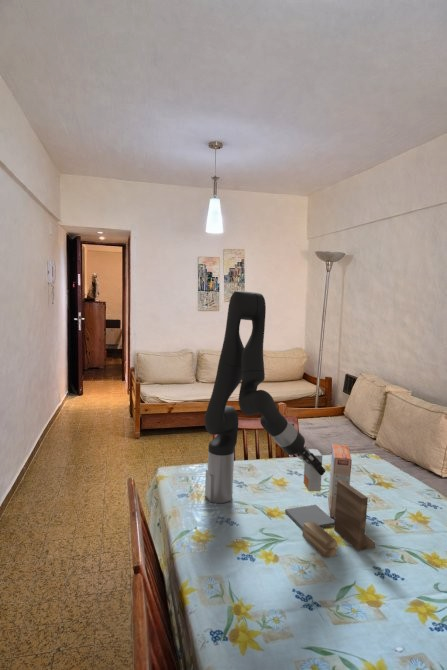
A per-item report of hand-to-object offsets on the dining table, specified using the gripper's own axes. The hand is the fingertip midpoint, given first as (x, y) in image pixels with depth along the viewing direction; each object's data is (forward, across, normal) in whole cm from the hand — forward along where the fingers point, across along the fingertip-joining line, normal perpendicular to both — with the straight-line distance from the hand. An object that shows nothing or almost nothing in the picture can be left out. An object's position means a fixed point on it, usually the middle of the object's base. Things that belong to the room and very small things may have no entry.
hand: (316, 468), depth 141 cm
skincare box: (+3, 0, +6) cm, 7 cm away
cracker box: (+20, +3, +4) cm, 21 cm away
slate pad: (+11, 0, +13) cm, 17 cm away
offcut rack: (+12, -14, +12) cm, 22 cm away
